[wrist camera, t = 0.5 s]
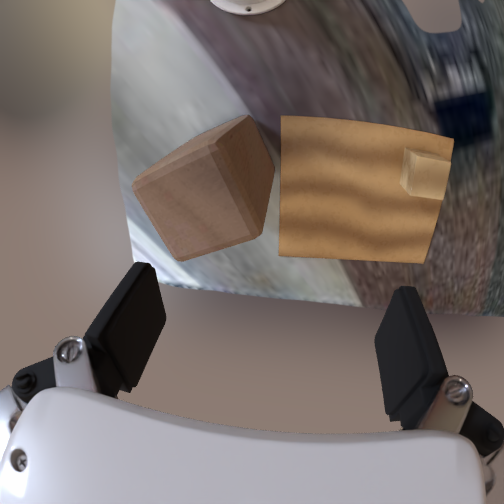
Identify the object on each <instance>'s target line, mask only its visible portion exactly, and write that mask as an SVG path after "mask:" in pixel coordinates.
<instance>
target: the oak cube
mask: <svg viewBox="0 0 504 504" xmlns="http://www.w3.org/2000/svg"><path fill="white" fill-rule="evenodd" d="M450 166H451V162H449V161H448V160H446V159H445V158H443V157H442V156H440V155H438V154H437V153H432V152H427V151H422V150H417V149H411V148H405V150H404V157H403V164H402V171H401V177H400V183H399V184H400V185H401V186H402V187H403V188H404V189H405V190H406V191H407V193H408V194H409V195H410V196H417V197H424V198H432V199H438V200H443V198H444V194H445V190H446V185H447V181H448V176H449V171H450Z"/></svg>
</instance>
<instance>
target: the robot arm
mask: <svg viewBox="0 0 504 504" xmlns="http://www.w3.org/2000/svg"><path fill="white" fill-rule="evenodd" d="M210 1H211V2H212V3H213V4H214V5H216V6H217V7H218V8H220V9H222V10H224V11H226V12H229V13H232V14H237V15H256V14H262V13H265V12H268V11H271V10H273V9H275V8H277V7H278V6H280V5H281V4H282V3H283V2H284V1H285V0H210ZM249 9H251V11H250V12H248V10H249ZM165 322H166V313H165V309H164V305H163V302H162V297H161V293H160V289H159V285H158V280H157V276H156V271H155V268H154V267H152V266H151V264H150V263H144V262H135V263H134V264H133V266H132V267H131V268H130V270H129V271H128V272H127V274H126V275H125V277H124V278H123V279H122V281H121V282H120V283H119V285H118V286H117V288H116V289H115V290H114V292H113V293H112V295H111V296H110V298H109V299H108V300H107V302H106V303H105V305H104V306H103V308H102V309H101V310H100V312H99V314H98V315H97V316H96V318H95V319H94V321H93V322H92V324H91V325H90V327H89V329H88V330H87V332H86V333H85V336H84V337H83V339H82V338H80V337H77V336H69V337H66V338H64V339H62V340H61V341H60V342H59V343H58V344H57V345H56V346H55V349H54V351H53V357H51V358H48V359H46V360H43V361H41V362H38V363H35V364H33V365H30V366H28V367H25V368H23V369H21V370H19V371H18V373H16V375H15V377H14V379H13V382H12V387H11V386H10V385H8V386H6V387H5V388H4V389H2V390H1V391H0V504H504V428H503V426H502V424H501V422H500V421H499V420H497V419H496V418H495V417H493V416H492V415H491V414H489V413H488V412H486V411H485V410H484V409H483V408H481V407H480V406H479V405H477V404H476V403H474V402H473V401H472V399H473V390H472V388H471V385H470V384H469V383H468V381H466V379H464V378H463V377H460V376H456V375H453V376H449V375H448V372H447V369H446V365H445V362H444V359H443V356H442V353H441V350H440V347H439V345H438V342H437V339H436V336H435V333H434V331H433V328H432V326H431V323H430V322H429V319H428V317H427V314H426V312H425V309H424V307H423V304H422V302H421V300H420V297H419V295H418V293H417V290H416V288H415V287H411V286H400V287H399V289H396V290H395V291H394V294H393V296H392V299H391V301H390V304H389V306H388V308H387V311H386V313H385V315H384V318H383V320H382V322H381V324H380V327H379V329H378V331H377V333H376V336H375V348H376V354H377V359H378V365H379V371H380V378H381V384H382V391H383V398H384V405H385V412H386V414H387V415H389V417H390V422H392V421H401V426H402V427H401V429H400V430H399V431H391V432H378V433H353V434H312V433H291V432H278V431H267V430H257V429H249V428H241V427H234V426H228V425H222V424H215V423H210V422H204V421H200V420H195V419H190V418H185V417H181V416H177V415H172V414H168V413H164V412H160V411H157V410H153V409H149V408H146V407H142V406H139V405H135V404H132V403H128V402H125V401H122V400H119V399H118V397H117V394H118V392H119V390H122V391H125V392H128V393H130V392H131V390H132V387H136V386H137V384H138V382H139V380H140V377H141V375H142V373H143V371H144V368H145V366H146V364H147V362H148V359H149V357H150V355H151V353H152V351H153V348H154V346H155V344H156V342H157V340H158V337H159V335H160V333H161V331H162V329H163V327H164V325H165Z"/></svg>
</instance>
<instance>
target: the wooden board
mask: <svg viewBox="0 0 504 504" xmlns="http://www.w3.org/2000/svg"><path fill="white" fill-rule="evenodd" d="M453 143H454V139H452V138H448V137H444V136H440V135H435V134H431V133H426V132H422V131H417V130H412V129H407V128H401V127H395V126H390V125H383V124H377V123H369V122H362V121H353V120H344V119H334V118H322V117H306V116H281V182H280V230H279V256H292V257H311V258H330V259H349V260H368V261H387V262H406V263H424V260H425V257H426V254H427V251H428V248H429V245H430V242H431V239H432V236H433V232H434V229H435V225H436V222H437V218H438V215H439V211H440V207H441V203H442V200H438V199H432V198H424V197H417V196H410V195H409V194H408V193H407V191H406V190H405V189H404V188H403V187H402V186H401V185H400V184H399V183H400V177H401V171H402V164H403V157H404V150H405V148H411V149H417V150H422V151H427V152H432V153H437V154H438V155H440V156H442V157H443V158H445V159H446V160H448V161H449V162H450V161H451V155H452V149H453Z"/></svg>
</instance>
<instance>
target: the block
mask: <svg viewBox="0 0 504 504" xmlns="http://www.w3.org/2000/svg"><path fill="white" fill-rule="evenodd" d="M274 173H275V167H274V165H273V163H272V160H271V158H270V156H269V153H268V151H267V149H266V147H265V144H264V142H263V140H262V138H261V135H260V133H259V131H258V129H257V127H256V124H255V122H254V120H253V118H252V117H250V116H249V115H243V116H240V117H238V118H236V119H233V120H231V121H229V122H226V123H224V124H222V125H220V126H218V127H215V128H213V129H211V130H209V131H207V132H205V133H202V134H200V135H198V136H196V137H194V138H193V139H191V140H190V141H188V142H187V143H185V144H183V145H182V146H180V147H179V148H177V149H176V150H174V151H173V152H171V153H170V154H168V155H167V156H165V157H164V158H162V159H161V160H160V161H158V162H157V163H155V164H154V165H152V166H151V167H150V168H148V169H147V170H145V171H144V172H143V173H141V174H140V175H139V176H137V177H136V179H135V180H134V182H133V183H132V189H133V192H134V194H135V196H136V197H137V199H138V201H139V202H140V204H141V206H142V207H143V209H144V211H145V212H146V214H147V216H148V217H149V219H150V221H151V222H152V224H153V226H154V227H155V229H156V231H157V232H158V234H159V235H160V237H161V239H162V240H163V242H164V243H165V245H166V246H167V248H168V250H169V251H170V253H171V254H172V256H173V257H174V258H175V259H176V260H177V261H186V260H189V259H192V258H195V257H199V256H202V255H205V254H208V253H211V252H215V251H218V250H221V249H224V248H227V247H231V246H234V245H237V244H240V243H243V242H247V241H250V240H253V239H255V238H257V237H258V236H260V235H261V234H262V231H263V227H264V222H265V217H266V212H267V207H268V202H269V198H270V193H271V188H272V183H273V178H274Z"/></svg>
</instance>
